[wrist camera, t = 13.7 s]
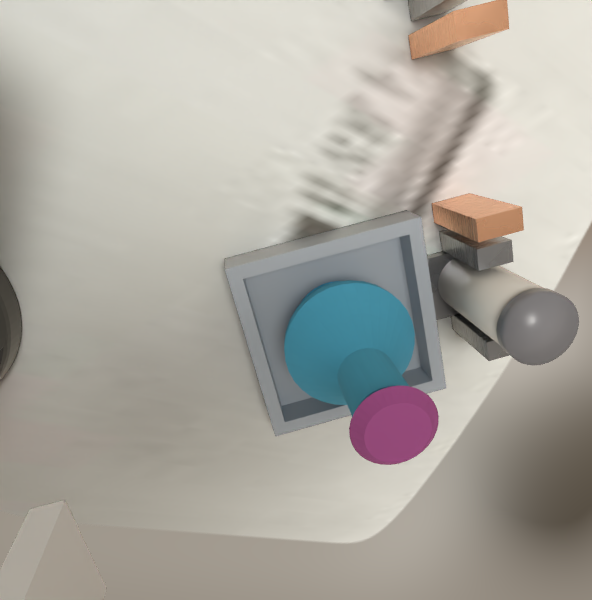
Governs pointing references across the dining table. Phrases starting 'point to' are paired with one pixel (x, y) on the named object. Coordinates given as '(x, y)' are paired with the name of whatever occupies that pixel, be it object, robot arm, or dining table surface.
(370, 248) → the tray
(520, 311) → the canister
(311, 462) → the dining table surface
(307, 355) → the perfume bottle
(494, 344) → the clip rack
